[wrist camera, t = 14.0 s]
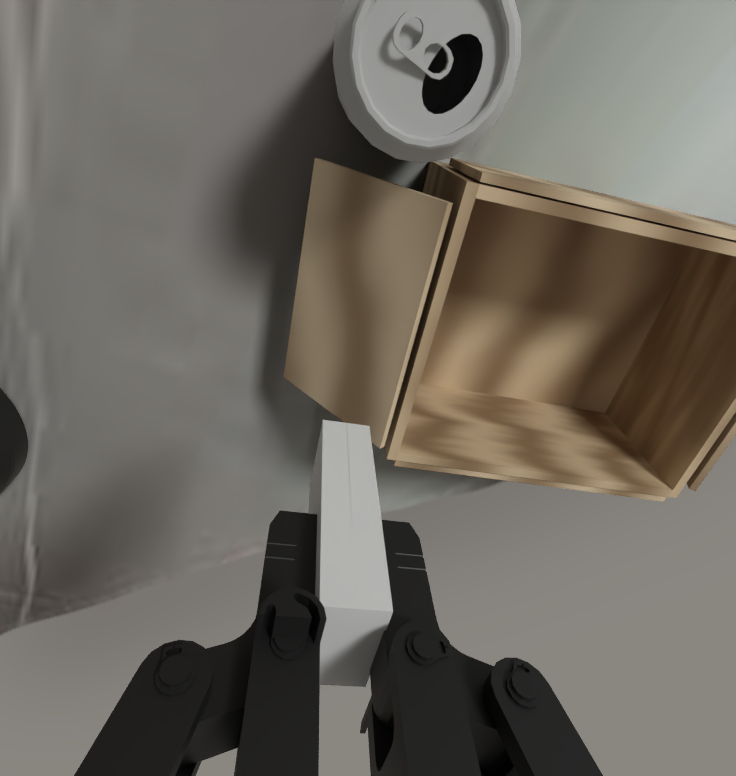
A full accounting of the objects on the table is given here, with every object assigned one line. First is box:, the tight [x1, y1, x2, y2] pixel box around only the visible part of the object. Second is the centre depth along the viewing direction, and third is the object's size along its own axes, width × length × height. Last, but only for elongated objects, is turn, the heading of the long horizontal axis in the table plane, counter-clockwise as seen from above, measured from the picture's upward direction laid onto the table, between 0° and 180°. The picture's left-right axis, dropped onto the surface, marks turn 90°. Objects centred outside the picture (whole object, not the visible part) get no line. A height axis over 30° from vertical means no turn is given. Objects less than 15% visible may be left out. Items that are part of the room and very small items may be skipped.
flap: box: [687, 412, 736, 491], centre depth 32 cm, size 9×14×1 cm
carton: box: [385, 158, 736, 501], centre depth 31 cm, size 20×17×10 cm
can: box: [333, 0, 521, 163], centre depth 23 cm, size 8×8×12 cm
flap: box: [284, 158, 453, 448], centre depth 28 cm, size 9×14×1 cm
